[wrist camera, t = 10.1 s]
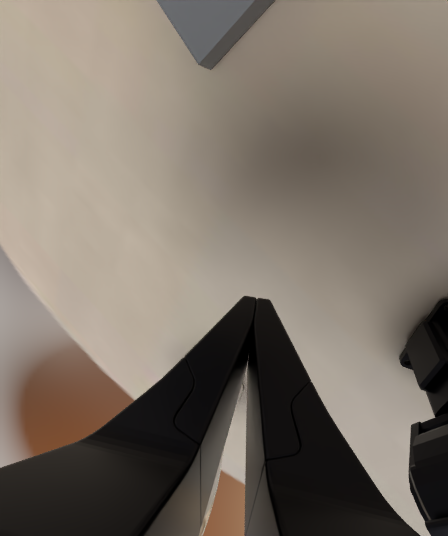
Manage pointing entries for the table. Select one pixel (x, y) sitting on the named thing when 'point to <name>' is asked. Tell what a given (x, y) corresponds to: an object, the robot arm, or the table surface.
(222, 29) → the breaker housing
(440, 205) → the table surface
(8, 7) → the table surface
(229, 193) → the table surface
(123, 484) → the robot arm
